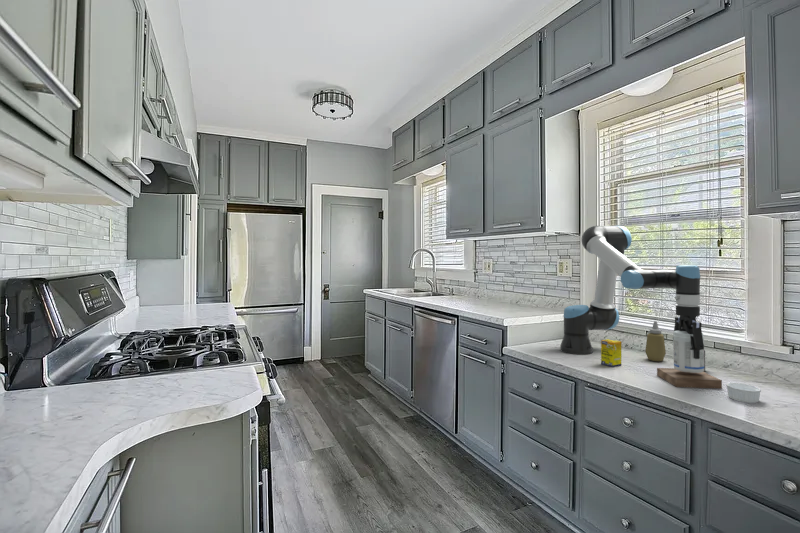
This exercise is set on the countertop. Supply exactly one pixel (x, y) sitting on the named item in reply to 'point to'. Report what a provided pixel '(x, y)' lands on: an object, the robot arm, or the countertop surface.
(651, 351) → the squeeze bottle
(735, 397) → the ramekin
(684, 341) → the supplement tub
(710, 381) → the walnut plinth
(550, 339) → the countertop surface
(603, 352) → the supplement box
